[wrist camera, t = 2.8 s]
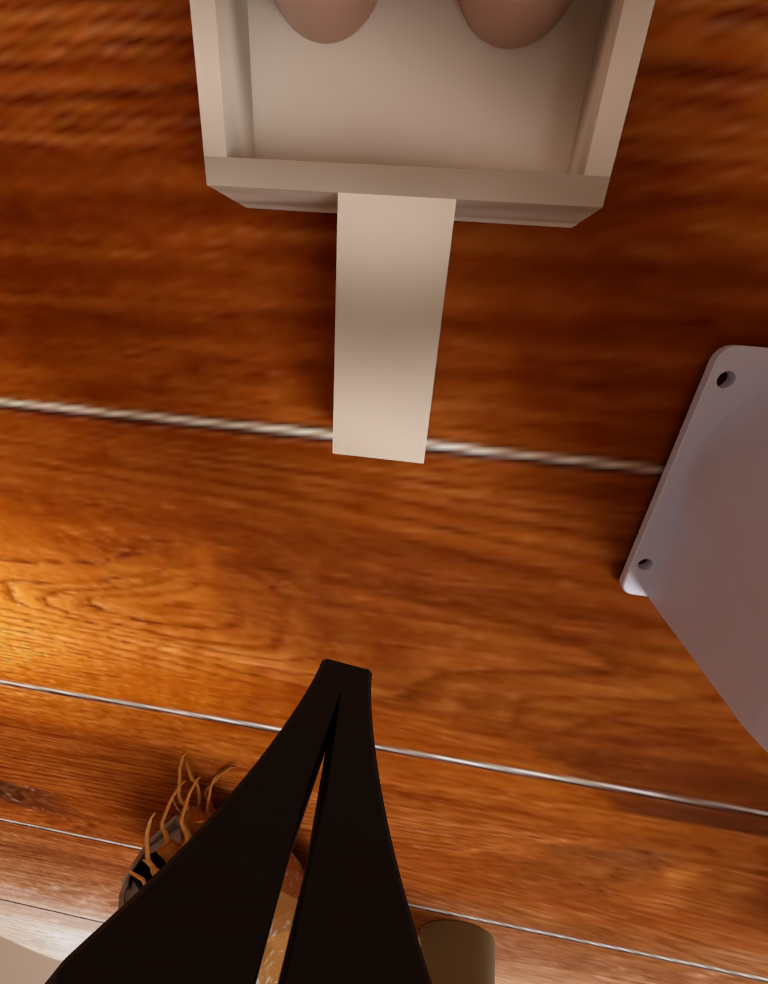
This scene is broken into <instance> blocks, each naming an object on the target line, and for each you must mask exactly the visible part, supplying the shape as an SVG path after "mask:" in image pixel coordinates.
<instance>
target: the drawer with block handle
mask: <svg viewBox="0 0 768 984" xmlns="http://www.w3.org/2000/svg"><path fill="white" fill-rule="evenodd" d="M654 3H655V0H573V1H572V3H571V5H570V7H569V8H568V10H567V11H566V13H565V14H564V16H563V17H562V18H561V20H560V21H559V22H558V23H557V24H556V25H555V27H554V28H553V29H551V30H550V31H549V32H548V33H547V34H546V35H545V36H543V37H542V38H540V39H539V40H537V41H535V42H533V43H532V44H529V45H527V46H524V47H520V48H514V49H505V48H499V47H496V46H493V45H490V44H489V43H487V42H485V41H484V40H482V39H481V38H480V37H479V36H478V35H477V34H476V33H475V32H474V31H473V30H472V28H471V27H470V25H469V24H468V22H467V21H466V18H465V16H464V14H463V12H462V9H461V6H460V3H459V0H378V2H377V4H376V6H375V8H374V10H373V12H372V13H371V15H370V16H369V18H368V19H367V21H366V22H365V23H364V24H363V26H362V27H361V28H360V29H359V30H358V31H357V32H355V33H354V34H353V35H351V36H350V37H348V38H346V39H344V40H342V41H340V42H336V43H331V44H320V43H316V42H312V41H310V40H308V39H306V38H304V37H303V36H301V35H300V34H298V33H297V32H296V31H295V30H294V29H293V28H292V27H291V26H290V25H289V23H288V22H287V21H286V19H285V18H284V16H283V15H282V13H281V11H280V9H279V7H278V6H277V4H276V2H275V0H190V10H191V21H192V32H193V43H194V53H195V64H196V75H197V85H198V96H199V107H200V118H201V128H202V139H203V150H204V161H205V171H206V182H207V185H208V186H209V187H211V188H213V189H215V190H216V191H218V192H220V193H222V194H223V195H225V196H227V197H229V198H231V199H232V200H234V201H236V202H238V203H239V204H241V205H243V206H245V207H246V208H258V209H274V210H290V211H307V212H323V213H337V261H336V310H335V360H334V409H333V453H335V454H344V455H353V456H361V457H370V458H379V459H388V460H397V461H406V462H415V463H423V464H424V457H425V449H426V441H427V432H428V424H429V416H430V408H431V400H432V392H433V384H434V376H435V368H436V360H437V352H438V344H439V336H440V328H441V320H442V312H443V304H444V296H445V287H446V279H447V271H448V263H449V255H450V247H451V239H452V231H453V223H454V221H469V222H485V223H501V224H517V225H534V226H550V227H566V228H572V227H574V226H575V225H577V224H578V223H580V222H581V221H583V220H584V219H586V218H587V217H589V216H590V215H592V214H594V213H595V212H597V211H598V210H600V209H601V208H603V204H604V200H605V196H606V192H607V188H608V184H609V180H610V176H611V172H612V168H613V165H614V161H615V157H616V153H617V149H618V145H619V141H620V137H621V133H622V129H623V125H624V121H625V117H626V113H627V109H628V105H629V101H630V98H631V94H632V90H633V86H634V82H635V78H636V74H637V70H638V66H639V62H640V58H641V54H642V50H643V46H644V42H645V38H646V34H647V31H648V27H649V23H650V19H651V15H652V11H653V7H654Z"/></svg>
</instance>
